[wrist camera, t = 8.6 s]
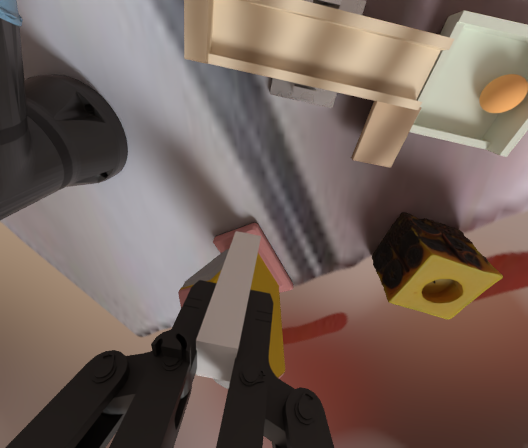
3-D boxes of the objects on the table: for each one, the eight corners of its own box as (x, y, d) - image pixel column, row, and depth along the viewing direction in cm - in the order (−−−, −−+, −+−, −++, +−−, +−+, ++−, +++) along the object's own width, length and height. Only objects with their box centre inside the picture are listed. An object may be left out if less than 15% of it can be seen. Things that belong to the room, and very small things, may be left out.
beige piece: (195, 124, 29) (185, 132, 26) (197, -18, 22) (184, -33, 18) (384, 162, 31) (398, 174, 28) (443, 43, 24) (471, 40, 21)
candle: (401, 210, 36) (431, 251, 28) (462, 228, 37) (509, 274, 28) (368, 256, 42) (385, 302, 34) (421, 272, 42) (450, 321, 34)
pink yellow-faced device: (206, 225, 43) (138, 335, 25) (249, 208, 40) (207, 320, 22) (260, 301, 53) (239, 419, 35) (299, 292, 50) (297, 417, 32)
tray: (395, 126, 30) (410, 134, 26) (448, 16, 24) (479, 4, 20) (478, 144, 30) (506, 156, 26) (551, 39, 24) (604, 33, 20)
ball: (518, 119, 25) (487, 112, 28) (548, 79, 23) (511, 76, 25) (493, 113, 24) (463, 106, 27) (521, 71, 22) (486, 69, 25)
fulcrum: (270, 93, 30) (264, 98, 25) (289, -15, 24) (286, -37, 19) (331, 107, 30) (337, 115, 25) (364, 2, 24) (381, -16, 19)
